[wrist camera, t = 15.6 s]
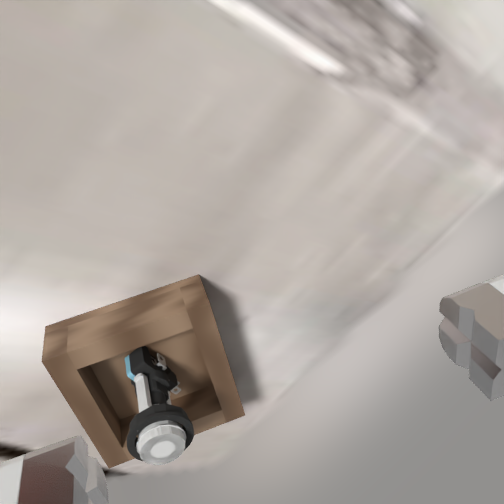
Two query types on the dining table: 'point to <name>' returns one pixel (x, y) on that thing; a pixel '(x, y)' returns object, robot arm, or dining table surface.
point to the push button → (156, 411)
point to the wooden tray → (157, 341)
